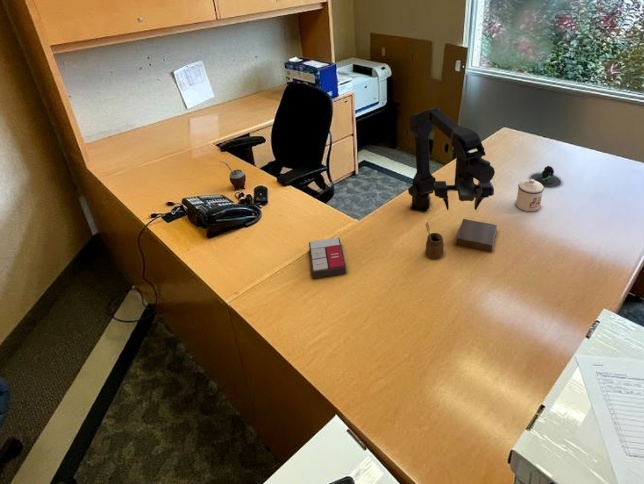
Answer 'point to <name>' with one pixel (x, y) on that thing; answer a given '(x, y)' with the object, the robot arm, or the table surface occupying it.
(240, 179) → the mate gourd
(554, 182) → the dark grey hat
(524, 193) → the teacup with lid
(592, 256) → the table surface
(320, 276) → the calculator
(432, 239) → the utensil holder
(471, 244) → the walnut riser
